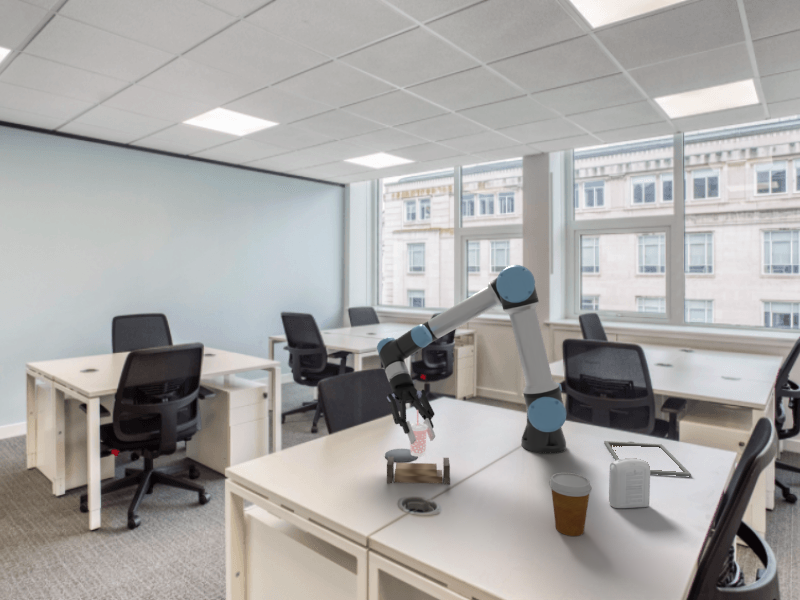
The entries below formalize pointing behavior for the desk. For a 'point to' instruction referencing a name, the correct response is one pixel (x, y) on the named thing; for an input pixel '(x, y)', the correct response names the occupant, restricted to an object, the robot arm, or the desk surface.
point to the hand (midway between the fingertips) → (423, 440)
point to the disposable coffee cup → (570, 502)
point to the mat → (400, 455)
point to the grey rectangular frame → (659, 472)
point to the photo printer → (629, 483)
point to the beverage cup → (419, 438)
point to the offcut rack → (417, 472)
